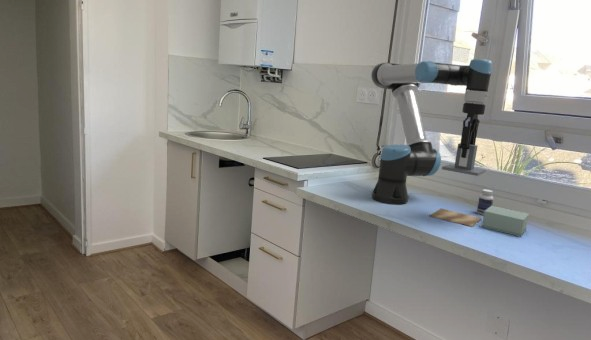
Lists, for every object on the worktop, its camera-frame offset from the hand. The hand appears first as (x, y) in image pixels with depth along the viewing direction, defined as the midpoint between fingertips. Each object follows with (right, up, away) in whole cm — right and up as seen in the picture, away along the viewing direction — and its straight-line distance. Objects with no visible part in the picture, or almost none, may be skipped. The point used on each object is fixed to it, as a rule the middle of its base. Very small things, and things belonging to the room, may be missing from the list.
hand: (464, 165), depth 164 cm
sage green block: (+13, -23, -4) cm, 27 cm away
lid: (0, -2, 0) cm, 2 cm away
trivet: (-2, -20, +4) cm, 21 cm away
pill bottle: (+13, -20, +14) cm, 27 cm away
